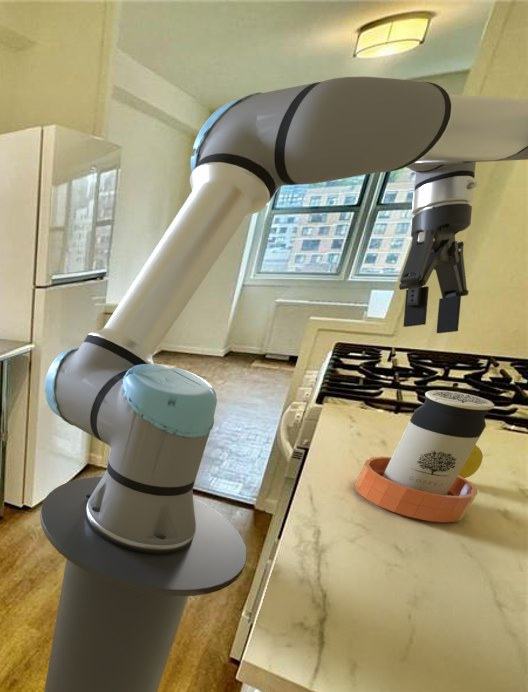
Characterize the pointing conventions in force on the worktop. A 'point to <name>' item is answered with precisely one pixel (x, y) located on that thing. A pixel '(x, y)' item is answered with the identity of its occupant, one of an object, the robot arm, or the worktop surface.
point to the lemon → (472, 463)
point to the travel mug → (438, 441)
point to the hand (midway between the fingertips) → (431, 329)
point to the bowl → (413, 495)
